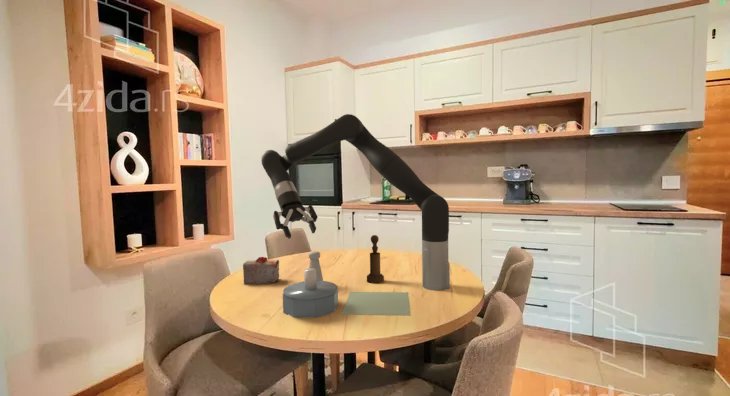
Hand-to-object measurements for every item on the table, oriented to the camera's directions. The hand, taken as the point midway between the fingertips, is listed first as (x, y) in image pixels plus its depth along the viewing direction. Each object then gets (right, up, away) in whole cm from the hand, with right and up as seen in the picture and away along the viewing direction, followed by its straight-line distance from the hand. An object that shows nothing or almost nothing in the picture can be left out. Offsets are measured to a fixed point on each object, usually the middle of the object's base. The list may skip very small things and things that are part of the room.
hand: (302, 234), depth 116 cm
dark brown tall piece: (+25, -20, +17) cm, 36 cm away
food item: (-19, -21, +20) cm, 35 cm away
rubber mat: (+25, -21, -6) cm, 33 cm away
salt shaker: (+3, -21, +13) cm, 24 cm away
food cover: (+5, -22, -9) cm, 24 cm away
